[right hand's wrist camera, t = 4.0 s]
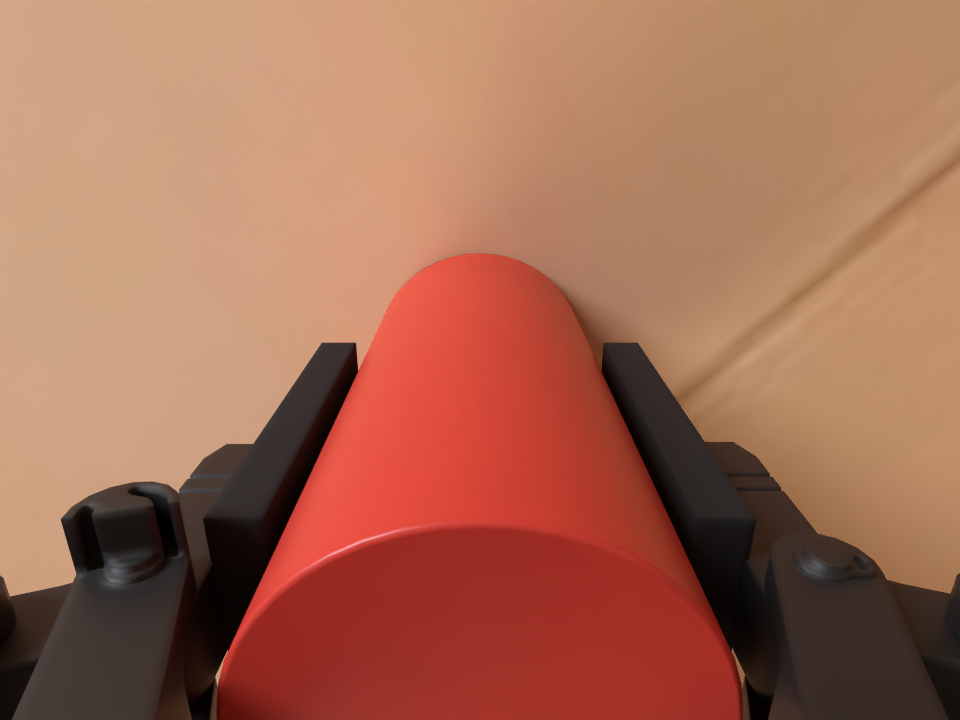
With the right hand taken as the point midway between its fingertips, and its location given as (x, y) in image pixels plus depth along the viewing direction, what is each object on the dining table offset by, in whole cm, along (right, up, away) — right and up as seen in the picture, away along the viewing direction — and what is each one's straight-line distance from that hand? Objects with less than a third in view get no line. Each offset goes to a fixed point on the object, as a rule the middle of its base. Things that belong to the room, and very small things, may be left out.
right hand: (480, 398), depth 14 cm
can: (0, +1, +3) cm, 3 cm away
